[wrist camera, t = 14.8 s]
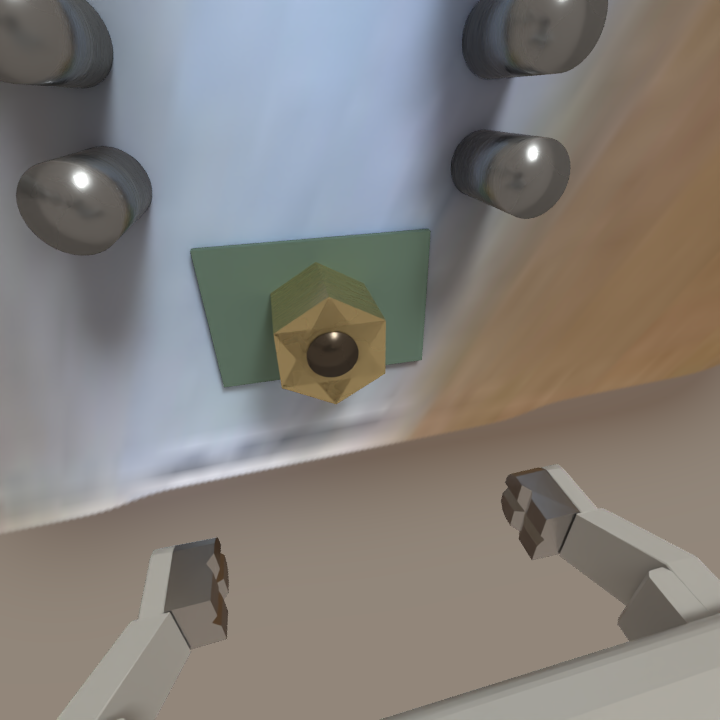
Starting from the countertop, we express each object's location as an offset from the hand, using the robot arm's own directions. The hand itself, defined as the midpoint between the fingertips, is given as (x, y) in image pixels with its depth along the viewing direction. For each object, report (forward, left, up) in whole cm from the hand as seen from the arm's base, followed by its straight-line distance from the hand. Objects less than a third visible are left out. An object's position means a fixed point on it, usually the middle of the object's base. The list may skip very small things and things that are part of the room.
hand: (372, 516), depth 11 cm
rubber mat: (0, 0, -14) cm, 14 cm away
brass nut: (0, 0, -13) cm, 13 cm away
